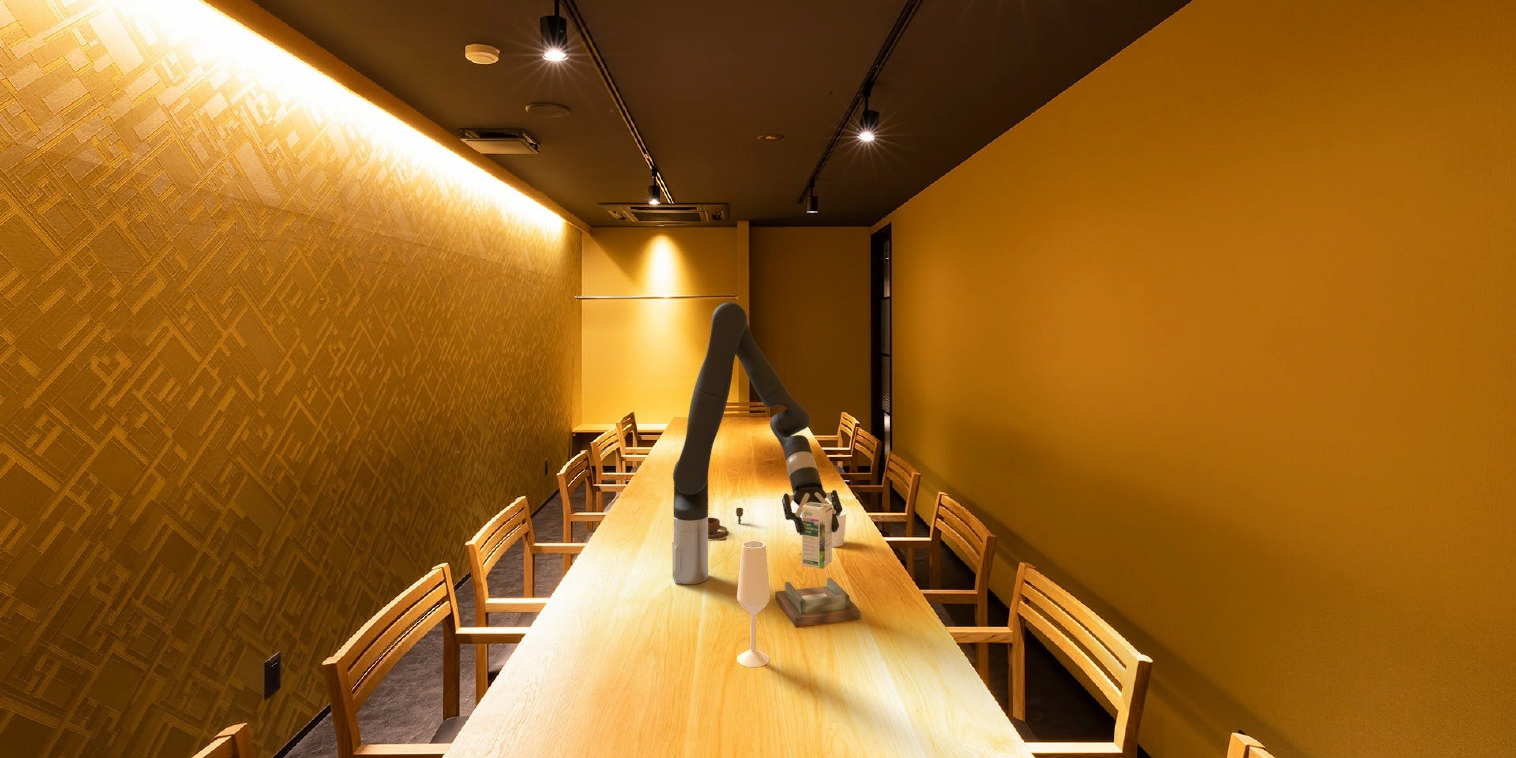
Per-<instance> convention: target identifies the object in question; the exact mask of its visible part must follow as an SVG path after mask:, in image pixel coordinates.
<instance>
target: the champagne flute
mask: <svg viewBox="0 0 1516 758" xmlns="http://www.w3.org/2000/svg"><path fill="white" fill-rule="evenodd" d="M768 569H769V568H768V559H767V546H766V543H765V542H763V541H761V540H748V541H744V542H743V543H742V544H741V553H740V563H739V575H738V582H737V592H736V593H737V594H736V599H737V602H738V604H739V605H740V606H741V608H743V609H744V610H745V611H746V612H747V613H748V614H750V640H749V641H750V642H749V644H750V649H749V650H746V651H744V652H742V653H741V654H739V655H738V656H737V658H736V660H737V663H738V664H739V665H741V666H744V667H746V668H747V667H748V668H758V667H759V668H760V667H763V666H765V665H767V664H768V663H769V662H770V656H768V655H767V654H766V653H765V652H762V651H760V650H758V649H757V614H759V613H760V612H761V611H762V610H763V609H764V608H766V606H767V605H768V604H769V602H770V598H771V592H770V591H771V590H770V582H769V570H768Z"/></svg>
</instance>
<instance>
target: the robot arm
mask: <svg viewBox="0 0 1516 758" xmlns="http://www.w3.org/2000/svg"><path fill="white" fill-rule="evenodd" d="M711 316H712V317H711V326H710V327H711V328H710V335H709V341H708V347H707V350H706V355H705V358H704V359H703V362H702V364H701V367H700V369H699V373H698V374H697V375H698V376H697V378H696V382H695V384H694V388H693V392H692V397H691V401H690V404H689V411H688V415H687V416H688V417H687V426H686V433H685V434H686V435H685V439H684V443H683V447H682V450H681V451H680V452H681V453H680V455H679V458H678V460H676V461H677V462H676V463H675V465H674V468H673V471H672V472H673V473H672V479H673V480H672V481H673V541H672V543H671V546H672V549H671V551H672V578H673V581H674V583H675V584H683V585H697V584H701V583H704V582H706V581H707V580H708V579H709V541H708V540H709V539H708V518H709V469H710V461H711V455H712V450H713V447H714V443H715V440H716V437H717V436H718V435H717V434H718V432H719V429H720V426H721V423H722V421H723V419H724V418H723V417H724V415H725V414H724V413H725V411H726V407H727V403H728V400H729V396H730V390H731V386H732V385H731V384H732V378H733V371H734V362H735V358H736V356H737V358H738V360H739V361H740V363H741V365H742V367H743V370H744V371H745V374H746V375H747V378H748V379H749V381H750V383H751V385H752V386H753V389H754V390H755V392H756V394H757V395H758V397H759V398H760V400H761V402H762V403H763V404H764V406H765V407H767V408H772V407H776V406H782V407H784V408H785V409H783V410H782V411H780V412H778V413H776V414H774V415H773V416H772V417H771V418H770V422H769V426H770V430H771V431H772V433H773V434H774V436H775V437H776V438H777V441H778V442H779V445H780V446H781V448H782V450H783V454H784V458H785V463H786V470H787V471H786V472H787V476H788V478H789V482H790V486H791V490H792V493H793V494H791V495H790V494H788V493H786V492H785V493H784V494H783V497H782V499H781V502H782V507H783V513H784V518H785V520H787V521H793V522H794V526H795V530H796V533H797V534H798V535H800V536H802V535H803V534H804V532H805V530H804V526H803V522H802V507H803V506H804V505H805V504H807V503H809V502H816V503H824V504H832V532H836V531H837V529H838V527H839V523H838V520H837V516H839V515H840V513H841V512H842V511H844V510H843V506H842V503H841V499H840V497H839V494H838V491H837V490H835V489H833V490H832V492H830V491H829V492H826V491H825V490H824V487H823V483H822V479H821V476H820V472H819V469H818V466H817V462H816V460H815V457H814V455H813V453H812V448H811V444H810V441H809V439H808V438H807V437H806V436H804V435H802V434H798V433H800V432H801V431H804V430H805V429H807V428H808V427H809V425H810V423H811V422H810V421H811V419H810V418H811V417H810V415H809V413H808V411H807V409H805V408H804V407H803V406H802V405H801V404H800V403H799V402H798V401H797V399H796V398H794V396H792V395H791V394H790V393H789V391H788V390H787V389H786V387H785V386H784V384H783V382H782V381H781V379H780V377H779V376H778V374H777V372H776V371H775V369H774V368H773V366H772V365H771V363H770V361H769V360H768V359H767V358H766V356H765V354H764V353H763V352H762V350H761V348H760V347H759V345H758V344H757V342H756V341H755V339H754V335H753V334H752V332H751V331H752V330H751V329H750V326H749V324H748V316H747V312H746V311H745V309H744V308H743V307H742V306H741V305H740V304H738V303H737V302H736V303H735V302H733V301H732V302H730V301H728V302H723V303H722V304H719V305H718V306H717V307H716V308H715V309H714V311H713V313H712V315H711ZM826 499H827V500H828V501H829V502H828V501H827V500H826ZM792 502H794V503H795V504H796V505H797V506H798V508H797V509H796V512H793V510H792V505H791V504H792Z"/></svg>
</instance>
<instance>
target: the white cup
mask: <svg viewBox="0 0 1516 758" xmlns="http://www.w3.org/2000/svg"><path fill="white" fill-rule="evenodd" d="M837 520H838V523H839V527H838V529H837V531H836V532H832V548H839V547H842V546H844V543H845V534H846V522H847V521H846V520H847V513H846V511H844V510H842V512H841V513H840V515H839V516H837Z"/></svg>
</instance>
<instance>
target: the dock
mask: <svg viewBox="0 0 1516 758" xmlns="http://www.w3.org/2000/svg"><path fill="white" fill-rule="evenodd" d="M784 586H785V587H784V590H777V591H776V590H775V592H774V599H775V601H776V603H777V602H778V603H777V604H778V605H779V606H780V608H781V610H782V611H783V612H784V614H785V613H786V614H785V615H786V616H787V618H788V619H789V621H790V622H791V623H792V624H793V626H794V628H795V627H804V626H805V627H806V626H813V625H821V624H822V625H823V624H831V623H839V622H846V621H856V620H861V612H862V611H861V610H860V609H859V608H858V607H857V606H856V604H854V603H853V601H851V600H850V595H849V594H848V593H847V591H845V590H844V589H843V588H842V587H841V586H840V585H839V584H838V583H837V582H836V581H835V580H834V579H833V578H832V577H827V578H826V586H817V587H808V588H807V587H806V588H795V587H794V586H793V584H792V583H791V582H790V581H784Z"/></svg>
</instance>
